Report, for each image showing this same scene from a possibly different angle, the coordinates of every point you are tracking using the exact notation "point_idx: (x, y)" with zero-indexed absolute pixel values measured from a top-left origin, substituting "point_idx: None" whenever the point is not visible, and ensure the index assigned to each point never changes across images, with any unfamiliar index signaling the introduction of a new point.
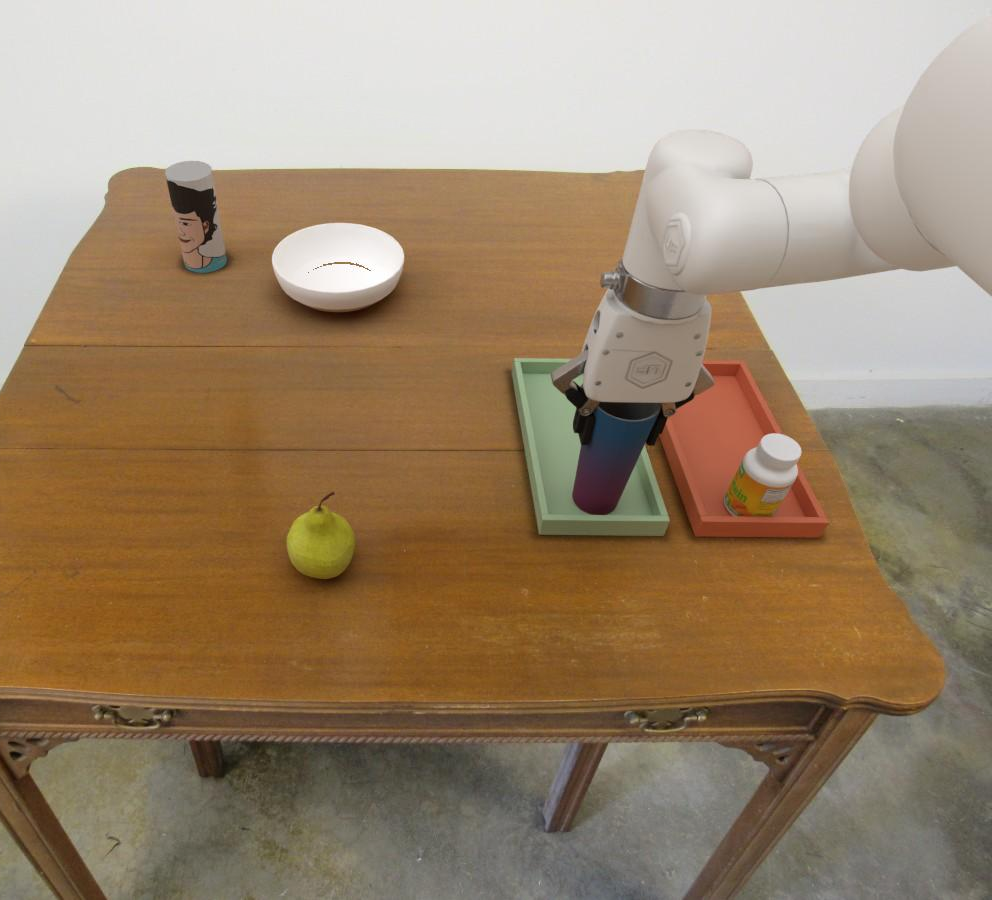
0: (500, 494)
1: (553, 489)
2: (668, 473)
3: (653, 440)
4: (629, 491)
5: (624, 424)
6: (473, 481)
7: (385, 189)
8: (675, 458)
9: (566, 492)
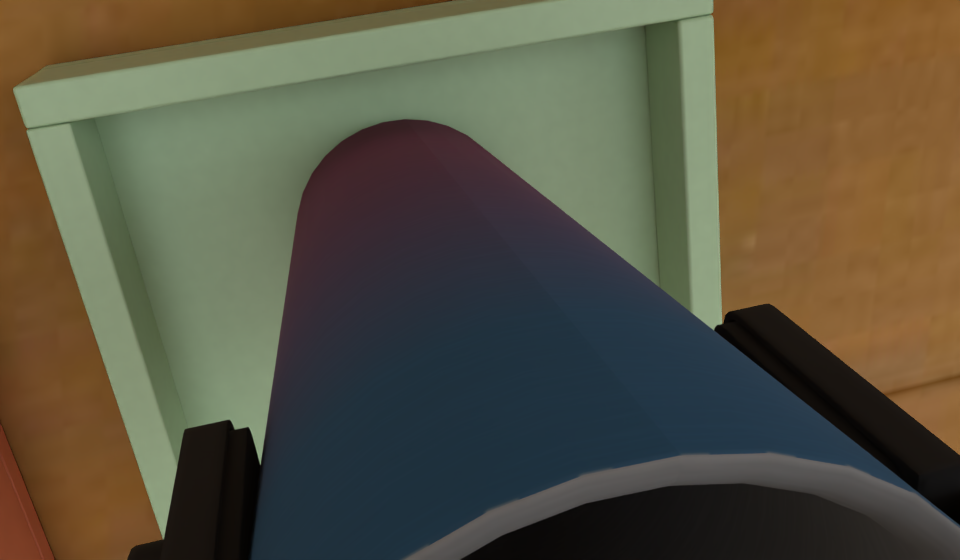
0: (807, 181)
1: None
2: (41, 471)
3: (205, 457)
4: (235, 308)
5: (689, 419)
6: (906, 231)
7: None
8: (9, 545)
9: None
